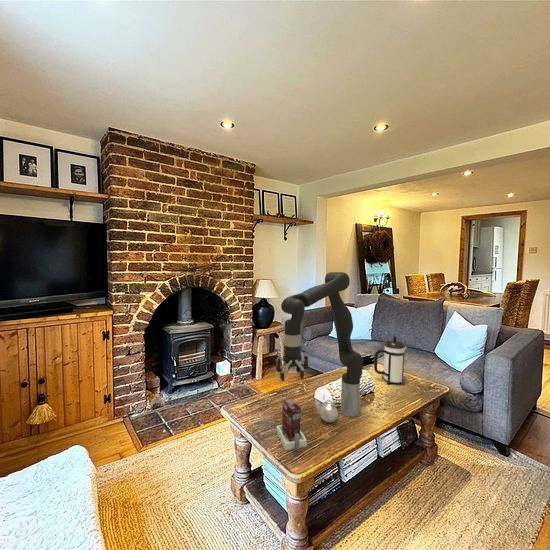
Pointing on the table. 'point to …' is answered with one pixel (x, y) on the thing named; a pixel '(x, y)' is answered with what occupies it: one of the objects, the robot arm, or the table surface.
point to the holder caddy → (293, 444)
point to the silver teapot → (329, 411)
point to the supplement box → (290, 419)
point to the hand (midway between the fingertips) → (291, 379)
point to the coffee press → (392, 360)
